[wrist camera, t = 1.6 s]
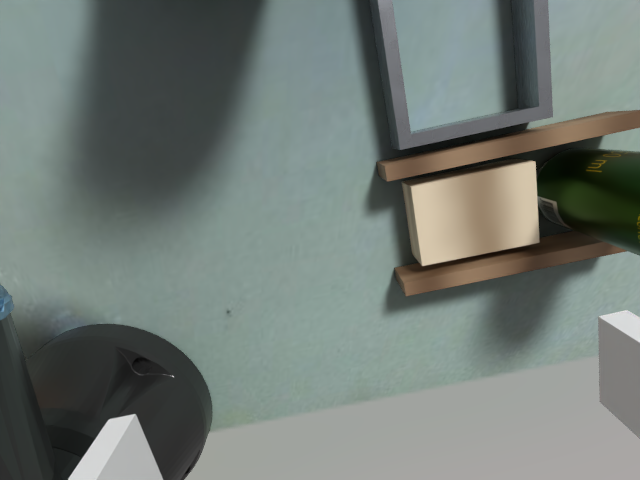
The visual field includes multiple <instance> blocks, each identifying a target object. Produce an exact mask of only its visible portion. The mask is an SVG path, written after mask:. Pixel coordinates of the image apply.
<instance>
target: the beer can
mask: <svg viewBox="0 0 640 480" xmlns="http://www.w3.org/2000/svg"><path fill="white" fill-rule="evenodd" d="M536 182H537V201H538V210H539V211H540V213H541V214H542V215H543V216H544V217H545V218H547V219H548V220H549V221H551V222H553V223H556V224H559V225H561V226H564V227H566V228H569V229H572V230H574V231H577V232H579V233H582V234H585V235H587V236H590V237H593V238H595V239H598V240H600V241H603V242H606V243H608V244H611V245H613V246H616V247H619V248H621V249H624V250H627V251H629V252H632V253H634V254H637V255H640V152H634V151H620V150H605V149H590V148H572V149H569V150H566V151H563V152H560V153H559V154H557V155H556V156H554V157H553V158H551V159H550V160H548V161H547V162H546V163H545V164H544V165H543V166H542V167H541V169H540V170H539V171H538V173H537V175H536Z"/></svg>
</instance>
